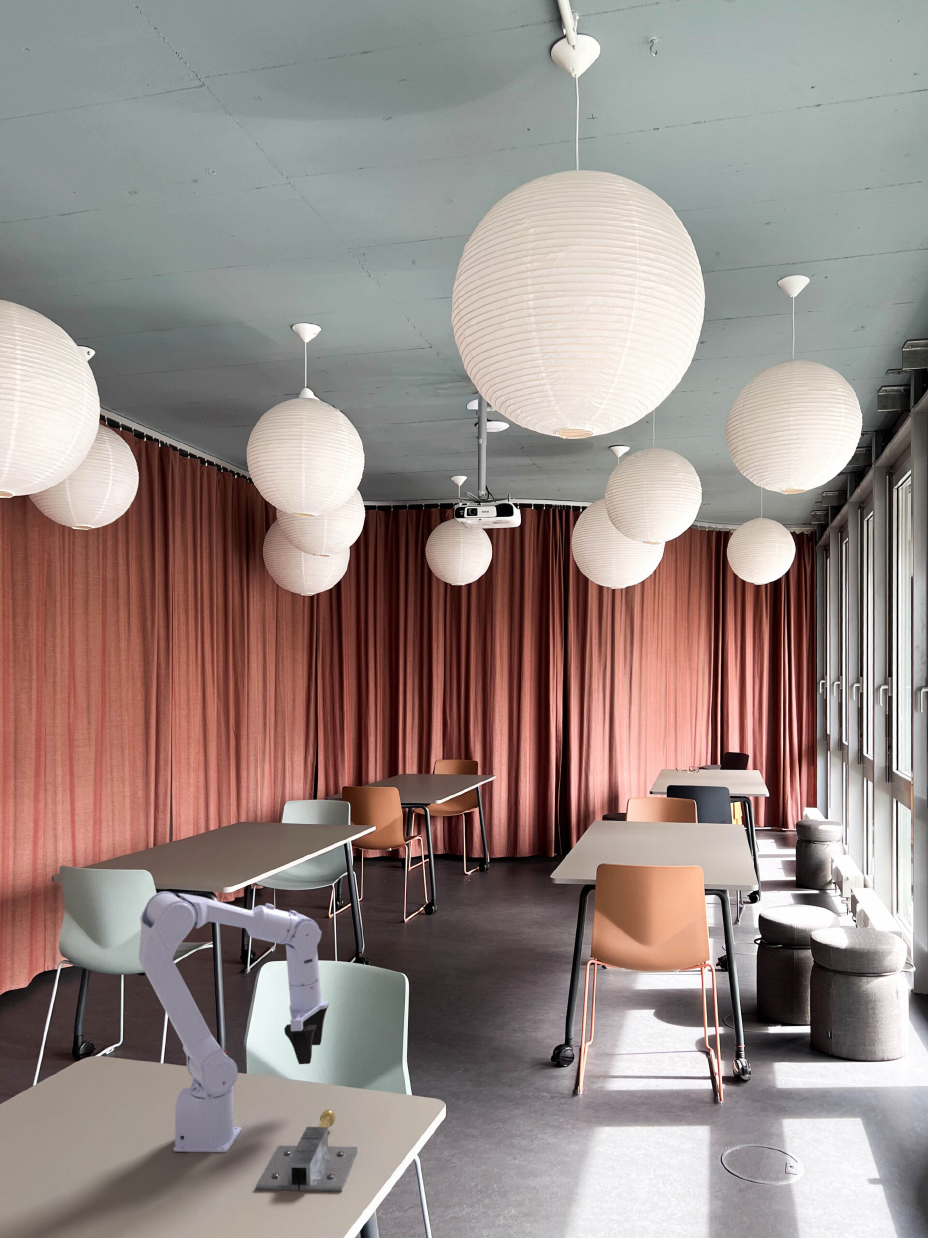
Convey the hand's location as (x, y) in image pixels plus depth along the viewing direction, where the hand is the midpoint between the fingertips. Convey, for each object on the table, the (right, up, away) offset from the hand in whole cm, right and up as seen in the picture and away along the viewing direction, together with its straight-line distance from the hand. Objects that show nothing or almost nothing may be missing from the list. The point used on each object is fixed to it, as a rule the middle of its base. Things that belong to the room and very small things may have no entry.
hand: (310, 1054), depth 172 cm
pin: (+4, -8, -15) cm, 18 cm away
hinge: (+3, -9, -22) cm, 24 cm away
